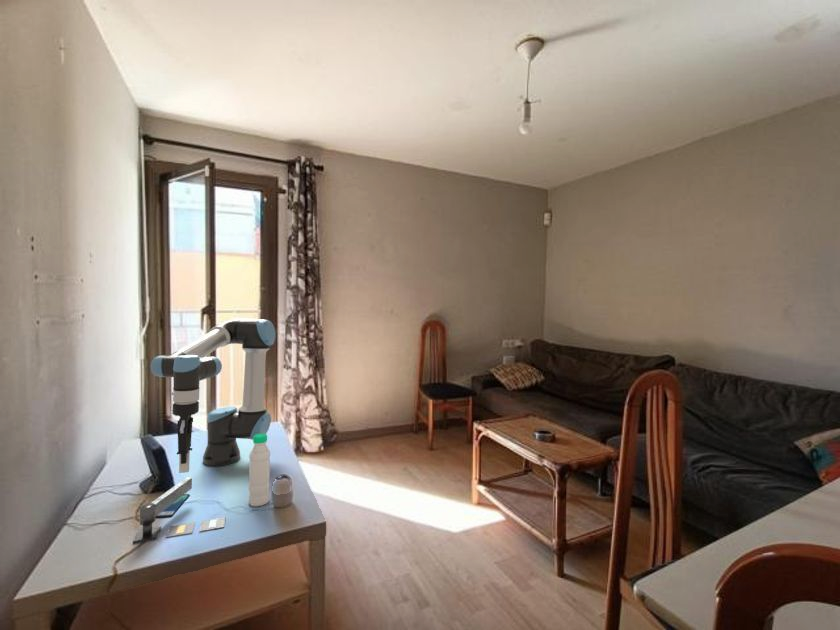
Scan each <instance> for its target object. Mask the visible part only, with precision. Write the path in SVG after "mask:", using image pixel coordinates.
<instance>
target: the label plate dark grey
mask: <svg viewBox="0 0 840 630" xmlns="http://www.w3.org/2000/svg"><path fill="white" fill-rule="evenodd" d="M200 523H201V524H200V528H199V530H198V531H199V532H198V533H201V532H208V531H214V530H218V529H224V528H225V525H226V524H225V523H226V516H224V517H223V516H221V517H217V518H211V519H206V520H205V519H204V520H201V522H200Z"/></svg>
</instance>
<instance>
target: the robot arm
mask: <svg viewBox="0 0 840 630" xmlns="http://www.w3.org/2000/svg"><path fill="white" fill-rule="evenodd" d="M275 340H276V329H275V325H274V324H273V322H272V321H271V320H269V319H262V318H240V317H239V318H232V319H229V320H227V321H223V322H220V323H219V324H216V325H215V326H213V327H211V329H210V330H209V331H208V333H205V334H204V335H202V336H201V337H199V338H197V339H195V340H194V341H192V342H191V343H189V344H187V345H185V346H183V347H181V348H180V349H177V350H176V351H174V352H173V353H171V354H169V355H165V354H163V355H157V356H155V357H154V358H153V359H152V361H151V363H150V370H151V373H152V375H153V376H156V377H159V378H160V377H161V378H173V380H172V383H173V386H172V387H173V388H172V392H171V393H170V395H171V396H172V402H173V404H172V410H171V411H172V415H173V416H175V417H178V416H179V420H177V429H176V432H177V452H176V455H179V459H178V461H179V463H178V473H179V474H182V473H183V474H184V473H189V472H190V455H191V454H190V452H191V451H193V447H191V446H192V432H193V422H194V417H193V416H194V415H196V414H198V413H199V409H200V402H199V400H200V381H203V380H206V379H211V378H213V377H215V376H218V375H219V374H220V373H221V372H222V369H223V365H222V362H221V360H220V359H219V358H218V357H216V356H208V355H210V354H211V353H213V352H215V351H216V350H217V349H219V348H222V347H226V346H227V345H233V344H237V345H238V344H239V345H242V346H241V349H242V350H243V351H244V352H245V355H244V371H243V372H244V375H243V391H242V405H241V406H240V407H239V408H237V407H236V406H225V407H221V408H216V409H214V410H212V411H210V412H209V413H208V416H207V421H206V422H207V444H206V448H205V449H204V450H205V451H204V454H203V455H202V462H203V463H202V464H204V465H206V466H210V467H219V466H220V467H221V466H225V465H230V464H232V463H235V462H237V461H238V460H239V459H241V450H240V448H239V444H238V442H237V439H244V440H247V439H248V440H252V441H253V437H254V436H255V435H257V434H266V435H267V433H268V431H269V430H270V426H271V423H272V416H271V414H270V413H269V412H267V407H266V406H265V405H264V394H265V392H264V391H265V378H266V377H265V376H266V358H267V355H266V354H267V352H268V351H269V350H270V347H271V346H273V345H274V343H275Z"/></svg>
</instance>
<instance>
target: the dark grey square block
mask: <svg viewBox="0 0 840 630" xmlns="http://www.w3.org/2000/svg"><path fill="white" fill-rule="evenodd" d="M161 530H162V526H161V525H159V526H154V527H153V523H151V524H149V525H142V528H141V529H138V530H137V532H136V535H134V538H133V540H132V545H135V544H139V543H144V542H146V543H147V542H151V541H157V539H158V537H159V534H160V532H161Z"/></svg>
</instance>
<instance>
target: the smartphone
mask: <svg viewBox="0 0 840 630" xmlns="http://www.w3.org/2000/svg"><path fill="white" fill-rule="evenodd" d="M190 495H191V494H189V493H185V494H184V495H183V496H181V497H180V498H179V499H178V500H176V501H175V502H174V503H172V504H171V505H170V506H169V507H167V508H166V509H165V510H163V511H162V512H161V513H160V514H158V515H157V516H156V517H155V519H169V518H172V517H174V515H175V514H176V513H177V512H178V510H179V509H180V508H181V507H182V506H183V505H184V503H185V502H187V500H188V499H189V498H190V497H191V496H190Z"/></svg>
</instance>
